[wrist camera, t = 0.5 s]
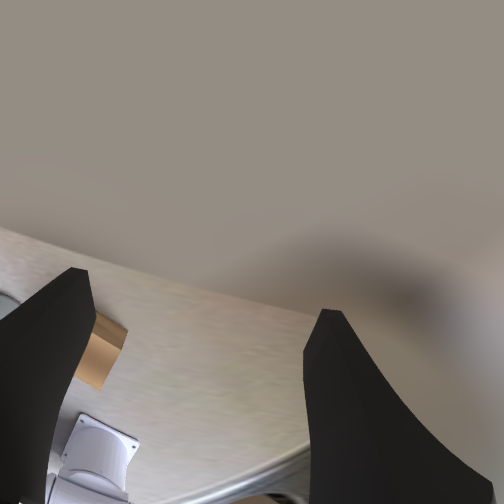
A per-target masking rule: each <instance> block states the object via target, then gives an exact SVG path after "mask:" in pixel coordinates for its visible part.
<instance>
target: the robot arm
mask: <svg viewBox="0 0 504 504" xmlns="http://www.w3.org/2000/svg"><path fill="white" fill-rule="evenodd" d="M96 318H97V316H96V311H95V307H94V302H93V297H92V292H91V287H90V282H89V276H88V270H83V269H78V268H73V267H71V268H69V269H68V270H66V271H65V272H63V273H62V274H61V275H59V276H58V277H56V278H55V279H54V280H52V281H51V282H50V283H49V284H47V285H46V286H45V287H43V288H42V289H41V290H39V291H38V292H37V293H35V294H34V295H33V296H32V297H30V298H29V299H28V300H26V301H25V302H24V303H23V304H21V305H20V306H19V307H17V308H16V309H14V310H13V311H12V312H10V313H9V314H8V315H6V316H5V317H4V318H2V319H1V320H0V504H19V502H20V503H22V504H134V503H131V502H129V503H128V494H127V493H125V478H126V466H127V464H128V463H129V461H130V460H131V458H132V456H133V455H134V453H135V452H136V450H137V449H138V447H139V444H140V443H139V441H137V440H135V439H133V438H131V437H129V436H126V435H124V434H122V433H120V432H118V431H116V430H114V429H112V428H110V427H108V426H106V425H104V424H102V423H100V422H98V421H96V420H95V419H93V418H91V417H89V416H87V415H85V414H80V416H79V418H78V420H77V422H76V425H75V427H74V429H73V431H72V433H71V435H70V438H69V440H68V442H67V444H66V447H65V449H64V451H63V453H62V456H61V460H62V461H64V465H63V468H62V469H60V471H59V474H58V477H57V478H56V474H54V473H50V474H48V475H47V469H48V462H49V455H50V449H51V444H52V439H53V434H54V430H55V426H56V422H57V418H58V414H59V411H60V407H61V405H62V402H63V399H64V397H65V394H66V392H67V389H68V387H69V385H70V383H71V380H72V378H73V376H74V373H75V371H76V369H77V367H78V365H79V362H80V360H81V358H82V356H83V354H84V351H85V349H86V347H87V345H88V342H89V339H90V336H91V333H92V330H93V327H94V324H95V321H96ZM303 382H304V391H305V399H306V408H307V416H308V425H309V434H310V445H311V476H310V495H309V504H497V503H496V498H495V493H494V489H493V485H492V482H490V481H489V480H487V479H486V478H485V477H483V476H482V475H480V474H479V473H477V472H476V471H474V470H473V469H472V468H470V467H468V466H467V465H466V464H465V463H464V462H462V461H461V460H460V459H459V458H458V457H456V456H455V455H454V454H452V453H451V452H450V451H449V450H448V449H447V448H446V447H445V446H444V445H443V444H442V443H440V442H439V441H438V440H437V439H436V438H435V437H434V436H433V435H432V434H431V433H430V432H429V431H428V430H427V429H426V428H425V427H424V426H423V424H422V423H421V422H420V421H419V420H418V419H417V418H416V417H415V415H414V414H413V413H412V412H411V411H410V410H409V409H408V407H407V406H406V405H405V404H404V403H403V401H402V400H401V399H400V398H399V396H398V395H397V394H396V392H395V391H394V390H393V388H392V387H391V386H390V384H389V383H388V381H387V380H386V379H385V377H384V376H383V374H382V373H381V372H380V370H379V369H378V367H377V366H376V364H375V363H374V361H373V360H372V358H371V357H370V355H369V354H368V352H367V351H366V349H365V348H364V346H363V345H362V343H361V341H360V340H359V338H358V337H357V335H356V333H355V332H354V330H353V329H352V327H351V325H350V324H349V322H348V321H347V319H346V318H345V316H344V315H343V313H342V312H341V311H338V310H330V309H322V311H321V313H320V315H319V317H318V320H317V322H316V324H315V327H314V329H313V331H312V333H311V336H310V338H309V340H308V342H307V344H306V346H305V349H304V351H303ZM81 419H82V420H83V421H81ZM133 445H134V446H135V447H133ZM66 454H67V455H66Z"/></svg>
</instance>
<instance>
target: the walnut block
mask: <svg viewBox="0 0 504 504" xmlns="http://www.w3.org/2000/svg"><path fill="white" fill-rule="evenodd" d="M96 316H97V318H96V321H95V324H94V327H93V330H92V333H91V336H90V339H89V342H88V345H87V347H86V349H85V351H84V354H83V356H82V358H81V360H80V362H79V365H78V367H77V369H76V371H75V373H74V376H75V377H77V378H78V379H80V380H82V381H83V382H85V383H87V384H89V385H90V386H92V387H94V388H96V389H97V390H99V391H100V390H101V388H102V386H103V384H104V382H105V380H106V378H107V376H108V374H109V372H110V370H111V368H112V367H113V365H114V363H115V361H116V359H117V357H118V355H119V353H120V352H121V350H122V347H123V344H124V341H125V338H126V336H127V333H128V330H126V329H124V328H122V327H121V326H119V325H117V324H116V323H114V322H113V321H111V320H109V319H108V318H106V317H105V316H103V315H101V314H100V313H98V312H97V311H96Z"/></svg>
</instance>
